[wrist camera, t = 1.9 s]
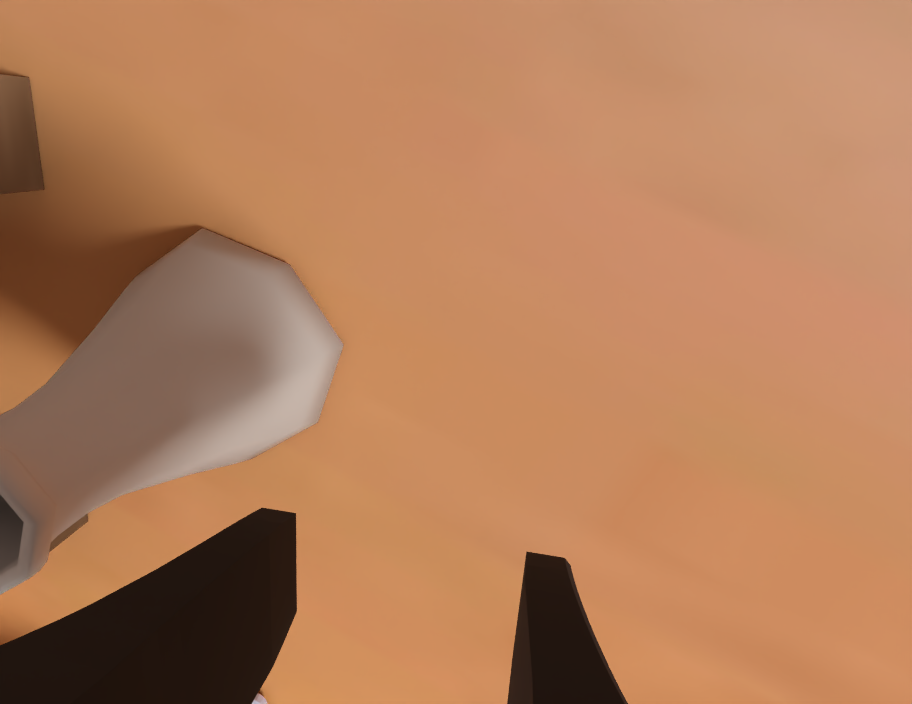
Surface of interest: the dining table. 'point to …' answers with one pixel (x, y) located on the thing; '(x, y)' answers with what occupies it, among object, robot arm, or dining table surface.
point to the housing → (22, 167)
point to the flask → (164, 391)
